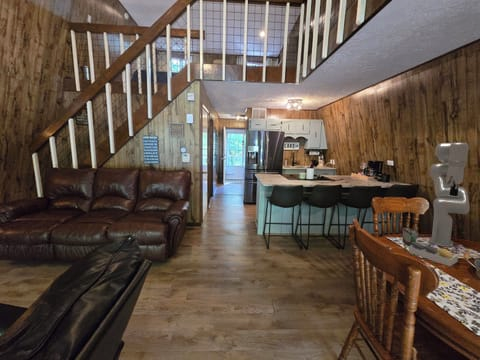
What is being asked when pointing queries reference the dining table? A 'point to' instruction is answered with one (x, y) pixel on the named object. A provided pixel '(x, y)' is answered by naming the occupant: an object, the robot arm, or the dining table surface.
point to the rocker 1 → (417, 245)
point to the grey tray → (434, 256)
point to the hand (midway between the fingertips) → (453, 195)
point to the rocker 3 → (444, 253)
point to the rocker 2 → (430, 249)
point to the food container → (409, 236)
